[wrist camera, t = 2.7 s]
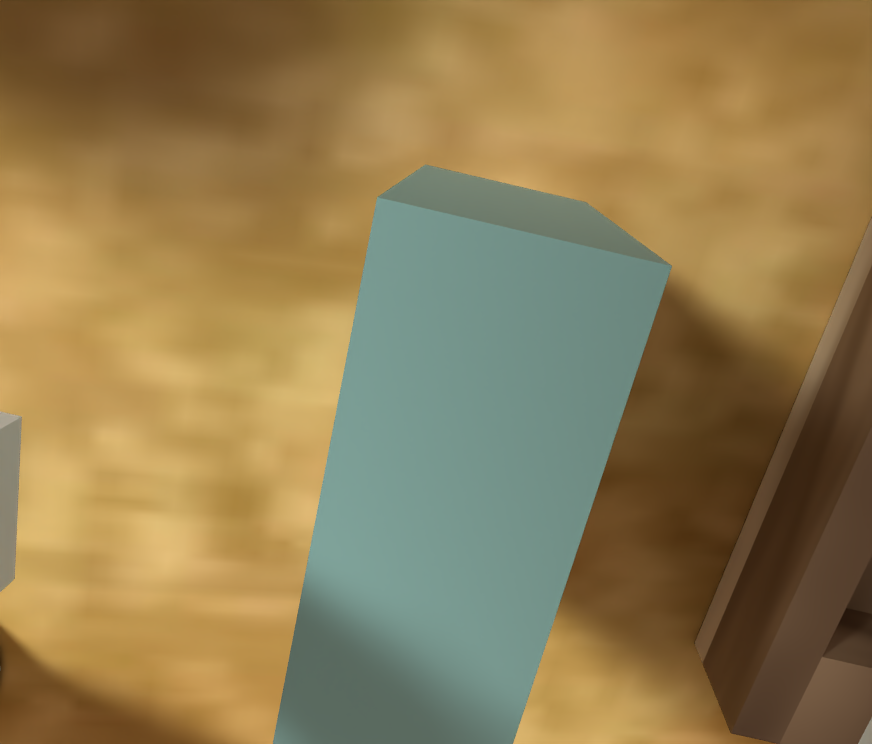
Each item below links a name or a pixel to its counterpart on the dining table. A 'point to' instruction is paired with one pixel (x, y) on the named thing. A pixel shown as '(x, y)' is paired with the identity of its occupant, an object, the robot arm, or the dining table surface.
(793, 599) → the brown wooden slotted block
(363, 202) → the dining table surface
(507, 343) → the long teal block
